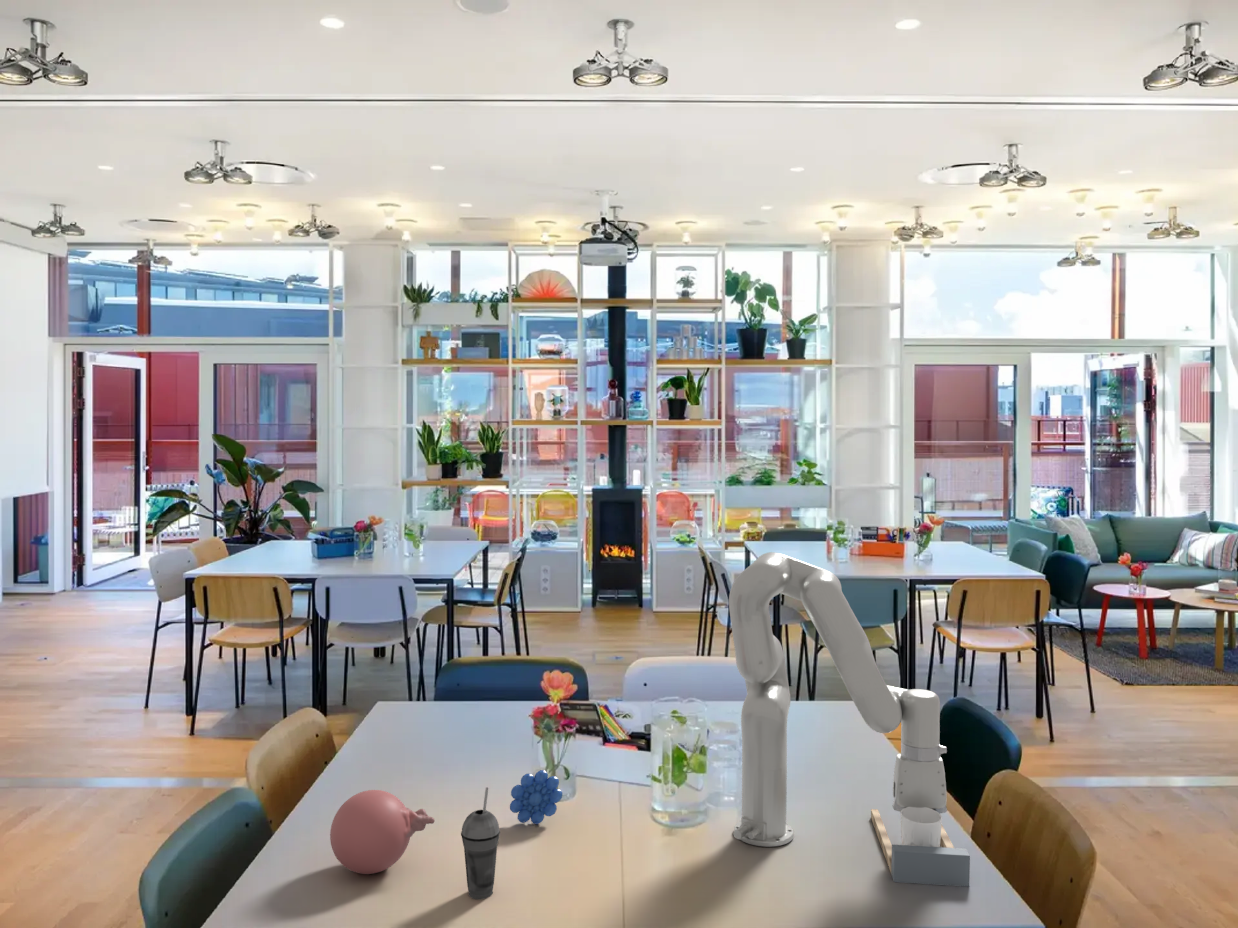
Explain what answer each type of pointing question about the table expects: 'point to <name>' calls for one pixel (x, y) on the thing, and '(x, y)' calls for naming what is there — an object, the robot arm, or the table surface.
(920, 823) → the white cup
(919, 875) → the end stop
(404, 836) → the balloon
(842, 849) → the table surface
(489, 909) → the table surface
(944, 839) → the guide channel
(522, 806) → the blue flower ornament
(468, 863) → the beverage cup
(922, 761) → the robot arm
